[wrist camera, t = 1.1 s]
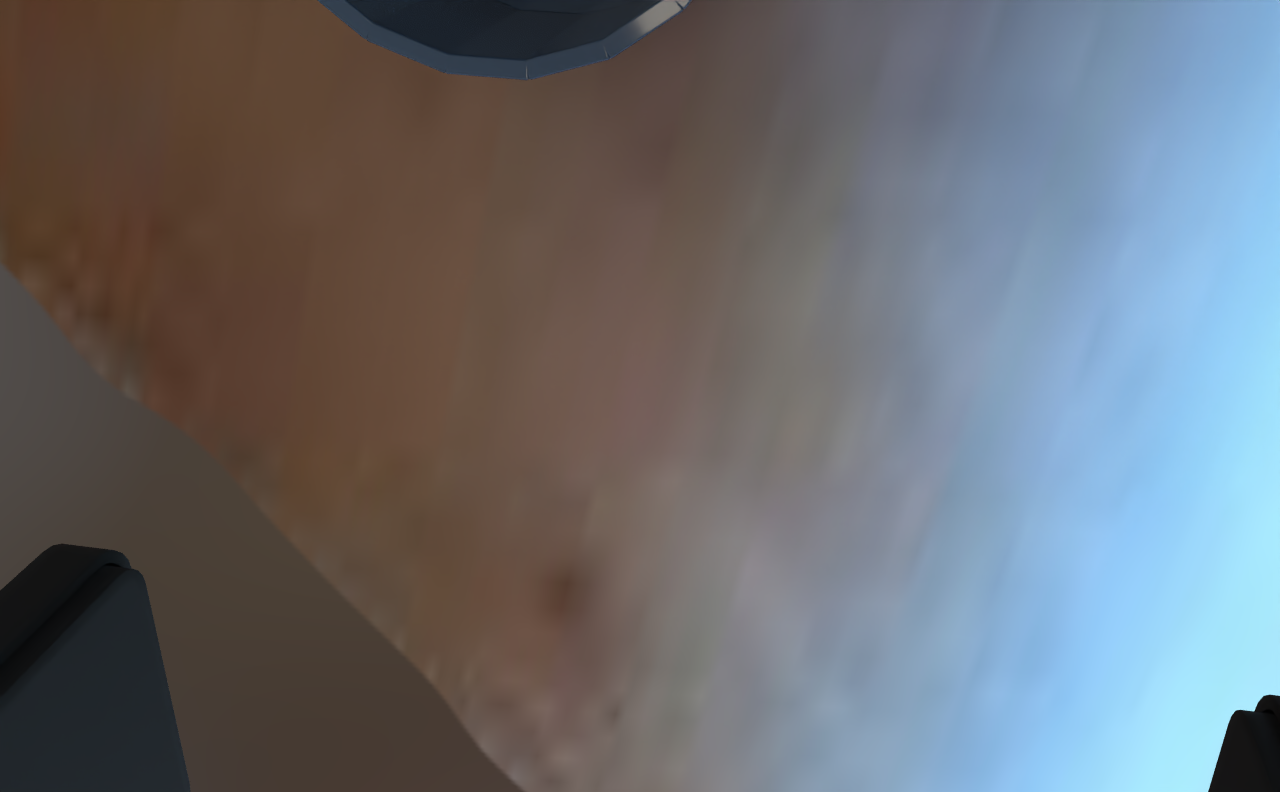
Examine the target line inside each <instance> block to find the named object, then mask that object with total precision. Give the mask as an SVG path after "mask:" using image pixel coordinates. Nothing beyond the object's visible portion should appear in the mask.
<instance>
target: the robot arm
mask: <svg viewBox="0 0 1280 792" xmlns="http://www.w3.org/2000/svg"><path fill="white" fill-rule="evenodd" d="M0 792H190V784H189V779H188V774H187V770H186V765H185V761H184V756H183V751H182V747H181V743H180V738H179V733H178V729H177V724H176V719H175V715H174V710H173V706H172V701H171V697H170V692H169V688H168V683H167V678H166V674H165V670H164V665H163V660H162V656H161V651H160V647H159V642H158V638H157V633H156V628H155V624H154V620H153V615H152V610H151V606H150V601H149V596H148V592H147V588H146V583H145V580H144V578H143V576H142V574H141V573H140V572H139V571H138V570H134V569H131V566H130V563H129V561H128V559H127V558H126V557H125V556H124V555H123V553H121V552H118V551H115V550H108V549H99V548H92V547H83V546H76V545H68V544H58V545H53V546H51V547H50V548H48V549H47V550H45V551H44V552H43V553H42V554H40V555H39V556H38V557H37V558H36V559H35V560H34V561H33V562H31V563H30V564H29V565H28V566H27V567H26V568H25V569H24V570H23V571H21V572H20V573H19V574H18V575H17V576H16V577H15V578H14V579H13V580H12V581H10V582H9V583H8V584H7V585H6V586H5V587H4V588H3V589H2V590H0ZM1208 792H1280V696H1276V695H1266V696H1263V697H1262V699H1261V700H1260V701H1259V702H1258V704H1257V706H1256V709H1255V711H1254V712H1252V711H1245V710H1237V711H1235V712H1234V714H1233V715H1232V716H1231V719H1230V721H1229V724H1228V727H1227V731H1226V734H1225V737H1224V741H1223V744H1222V747H1221V751H1220V754H1219V757H1218V761H1217V764H1216V768H1215V771H1214V774H1213V778H1212V781H1211V784H1210V788H1209V791H1208Z"/></svg>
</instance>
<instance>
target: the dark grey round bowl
mask: <svg viewBox="0 0 1280 792" xmlns="http://www.w3.org/2000/svg"><path fill="white" fill-rule="evenodd" d="M318 1H319V2H320V3H321V4H323V5H324V6H325V7H326V8H327V9H329V10H330V11H331V12H332V13H334V14H335V15H336V16H337V17H338V18H340V19H341V20H342V21H343V22H345V23H346V24H347V25H348V26H349V27H351V28H352V29H353V30H354V31H356V32H357V33H358V34H359V35H360V36H362V37H363V38H364V39H367V41H369V42H371V43H374V44H376V45H378V46H381V47H383V48H386V49H388V50H390V51H393V52H395V53H398V54H400V55H402V56H405V57H407V58H410V59H412V60H414V61H417V62H419V63H422V64H424V65H426V66H429V67H431V68H434V69H436V70H438V71H441V72H443V73H447V74H457V75H469V76H482V77H494V78H507V79H519V80H529V79H531V80H532V79H536V78H540V77H544V76H547V75H551V74H555V73H559V72H563V71H567V70H571V69H575V68H578V67H582V66H586V65H590V64H594V63H598V62H602V61H606V60H609V59H610V58H613V57H615V56H616V55H618V54H619V53H621V52H622V51H624V50H625V49H627V48H628V47H630V46H631V45H633V44H634V43H636V42H637V41H639V40H640V39H642V38H643V37H645V36H646V35H648V34H649V33H651V32H652V31H654V30H655V29H657V28H658V27H660V26H661V25H663V24H664V23H666V22H667V21H669V20H670V19H672V18H673V17H675V16H676V15H678V14H679V13H681V12H682V11H683V10H684V9H686V8H687V7H688V5H689V4H690V3H691V2H692V1H693V0H318Z"/></svg>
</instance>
